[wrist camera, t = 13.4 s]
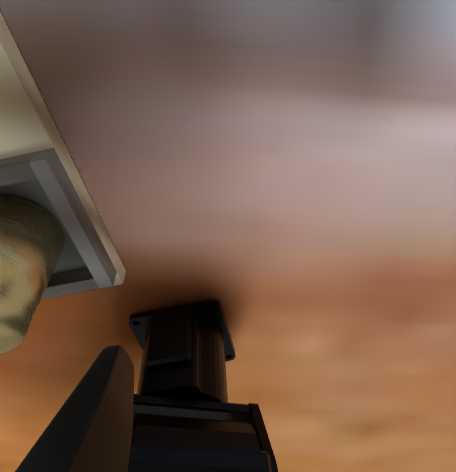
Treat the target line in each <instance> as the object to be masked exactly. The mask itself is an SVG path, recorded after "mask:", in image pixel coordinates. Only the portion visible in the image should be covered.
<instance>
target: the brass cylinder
mask: <svg viewBox="0 0 456 472" xmlns="http://www.w3.org/2000/svg"><path fill="white" fill-rule="evenodd" d="M64 244H65V237H64V232H63V229H62V227H61V225H60V223H59V222H58V220H57V219H56V218H55V217H54V216H53V215H52V214H51V213H50V212H49V211H48V210H47V209H45V208H44V207H43V206H41V205H39V204H38V203H36V202H34V201H32V200H29V199H26V198H23V197H20V196H15V195H7V194H0V354H4V353H7V352H9V351H11V350H13V349H14V348H16V347H17V346H18V345H19V344H20V343H21V342H22V341H23V339H24V337H25V334H26V332H27V330H28V328H29V325H30V323H31V321H32V318H33V316H34V314H35V312H36V309H37V307H38V305H39V303H40V300H41V298H42V296H43V293H44V291H45V289H46V287H47V284H48V282H49V280H50V277H51V275H52V273H53V271H54V268H55V266H56V264H57V261H58V259H59V257H60V255H61V252H62V250H63V248H64Z"/></svg>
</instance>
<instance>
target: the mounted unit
mask: <svg viewBox="0 0 456 472" xmlns="http://www.w3.org/2000/svg"><path fill="white" fill-rule="evenodd" d="M0 194H7V195H15V196H20V197H23V198H26V199H29V200H32V201H34V202H36V203H38V204H39V205H41V206H43V207H44V208H45V209H47V210H48V211H49V212H50V213H51V214H52V215H53V216H54V217H55V218H56V219H57V220H58V222H59V223H60V225H61V227H62V229H63V232H64V237H65V244H64V248H63V250H62V252H61V255H60V257H59V259H58V261H57V264H56V266H55V268H54V271H53V273H52V275H51V277H50V280H49V282H48V284H47V287H46V289H45V291H44V293H43V296H42V298H41V300H42V299H48V298H53V297H58V296H64V295H69V294H75V293H80V292H85V291H91V290H96V289H101V288H107V287H112V286H115V285H120V284H123V282H124V277H125V273H126V270H125V268H124V266H123V263H122V261H121V259H120V257H119V255H118V253H117V251H116V249H115V247H114V245H113V243H112V241H111V239H110V237H109V235H108V232H107V230H106V228H105V226H104V224H103V222H102V220H101V218H100V216H99V214H98V212H97V210H96V208H95V206H94V204H93V202H92V199H91V197H90V195H89V193H88V191H87V189H86V187H85V185H84V183H83V181H82V179H81V177H80V175H79V173H78V171H77V168H76V166H75V164H74V162H73V160H72V158H71V156H70V154H69V152H68V150H67V148H66V146H65V144H64V142H63V140H62V138H61V135H60V133H59V131H58V129H57V127H56V125H55V123H54V121H53V119H52V117H51V115H50V113H49V111H48V109H47V107H46V104H45V102H44V100H43V98H42V96H41V94H40V92H39V90H38V88H37V86H36V84H35V82H34V80H33V78H32V76H31V74H30V71H29V69H28V67H27V65H26V63H25V61H24V59H23V57H22V55H21V53H20V51H19V49H18V47H17V45H16V43H15V40H14V38H13V36H12V34H11V32H10V30H9V28H8V26H7V24H6V22H5V20H4V18H3V16H2V14H1V12H0Z"/></svg>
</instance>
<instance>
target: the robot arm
mask: <svg viewBox="0 0 456 472" xmlns="http://www.w3.org/2000/svg"><path fill="white" fill-rule="evenodd" d="M128 323H129V326H130V327H131V329H132V331H133V333H134V335H135V337H136V339H137V340H138V342H139V344H140V346H141V348H142V350H143V357H142V364H141V371H140V378H139V385H138V392H137V394H134V367H133V363H132V361H131V359H130V358H129V356H128V354H127V353H126V351H125V349H124V348H123V346H121V345H114V346H109V347H106V348H105V349H103V351H102V352H101V353H100V355H99V356H98V358H97V359H96V360H95V362H94V363H93V364H92V366H91V367H90V369H89V370H88V371H87V373H86V374H85V376H84V377H83V378H82V380H81V381H80V382H79V384H78V385H77V387H76V388H75V389H74V391H73V392H72V394H71V395H70V396H69V398H68V399H67V400H66V402H65V403H64V405H63V406H62V407H61V409H60V410H59V411H58V413H57V414H56V416H55V417H54V418H53V420H52V421H51V423H50V424H49V425H48V427H47V428H46V429H45V431H44V432H43V434H42V435H41V436H40V438H39V439H38V441H37V442H36V443H35V445H34V446H33V447H32V449H31V450H30V452H29V453H28V454H27V456H26V457H25V458H24V460H23V461H22V463H21V464H20V465H19V467H18V468H17V470H16V471H15V472H278V468H277V464H276V460H275V456H274V453H273V450H272V447H271V444H270V441H269V437H268V434H267V431H266V428H265V425H264V422H263V418H262V415H261V412H260V409H259V406H258V404H253V403H249V404H248V405H247V404H236V403H228V397H227V381H226V366H225V361H230V360H233V359H234V358H235V350H234V347H233V344H232V340H231V337H230V334H229V330H228V327H227V323H226V320H225V317H224V313H223V310H222V307H221V304H220V302H219V301H217V300H209V301H204V302H198V303H192V304H187V305H181V306H176V307H170V308H165V309H159V310H154V311H148V312H143V313H137V314H133V315H131V316H130V318H129V322H128Z"/></svg>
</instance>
